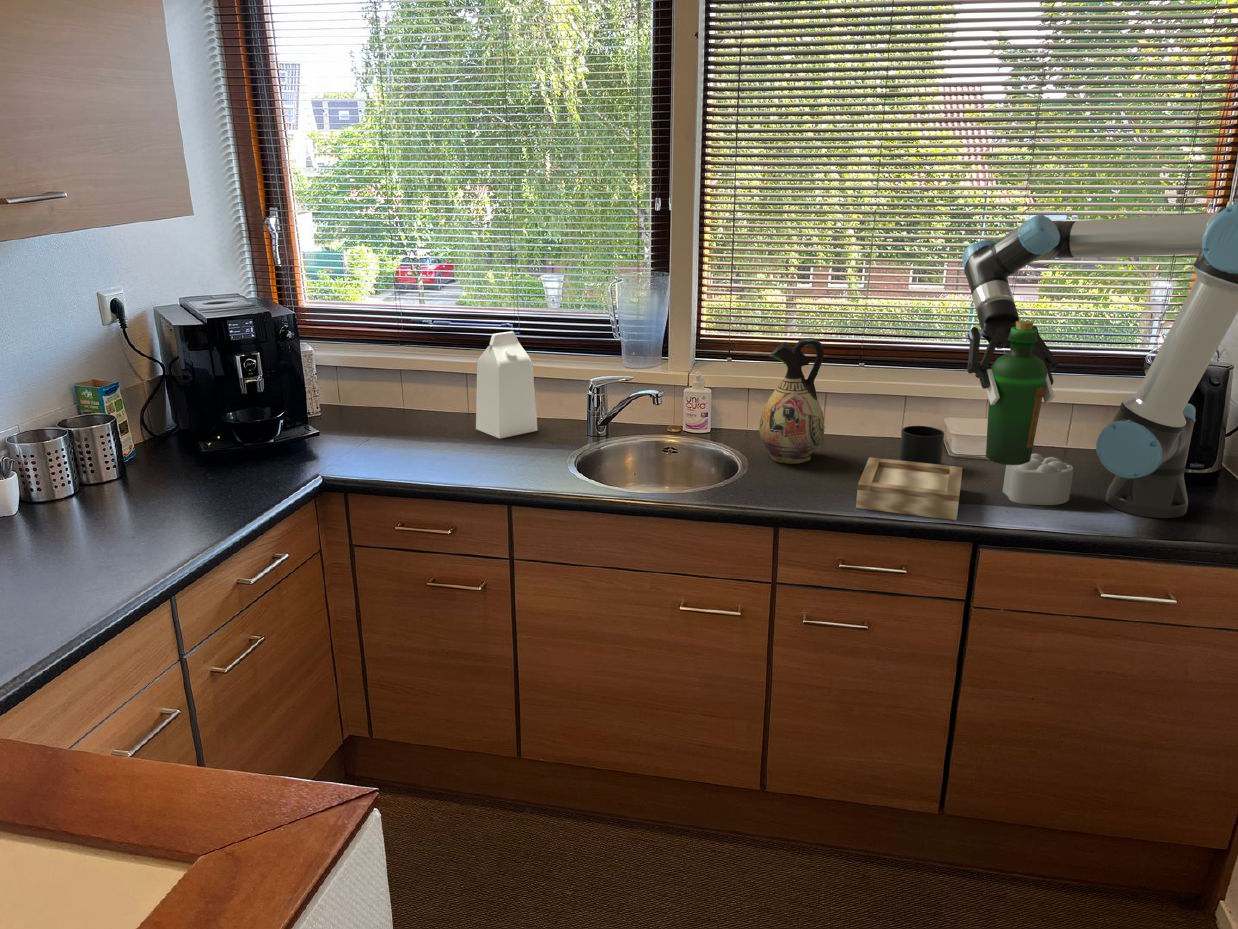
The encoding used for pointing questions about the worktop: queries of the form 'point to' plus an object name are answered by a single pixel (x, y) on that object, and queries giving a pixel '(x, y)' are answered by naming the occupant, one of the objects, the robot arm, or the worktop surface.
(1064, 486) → the lumpy-topped squat cylinder
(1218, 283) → the robot arm
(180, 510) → the worktop surface
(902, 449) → the mug
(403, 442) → the worktop surface
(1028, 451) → the bottle
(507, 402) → the milk
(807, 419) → the ceramic jug
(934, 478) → the rectangular wooden box
